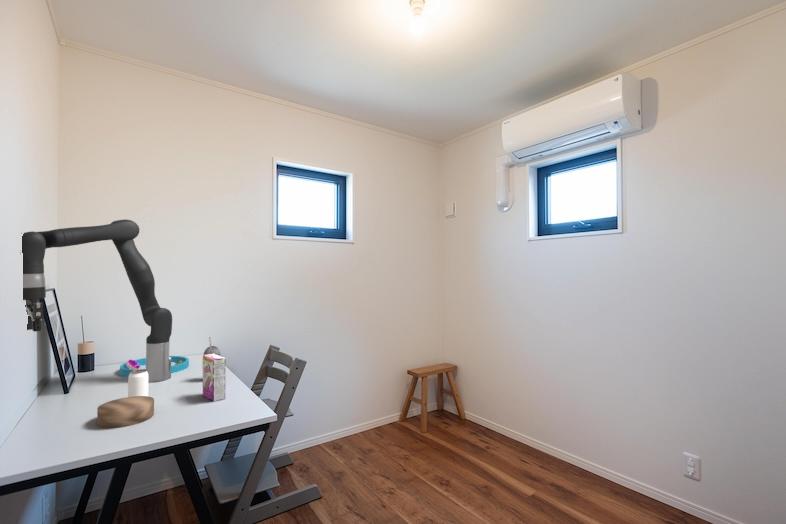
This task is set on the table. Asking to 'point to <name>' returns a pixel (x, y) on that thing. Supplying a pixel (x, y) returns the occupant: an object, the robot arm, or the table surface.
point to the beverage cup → (212, 350)
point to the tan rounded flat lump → (125, 411)
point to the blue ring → (135, 364)
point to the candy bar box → (214, 377)
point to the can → (138, 383)
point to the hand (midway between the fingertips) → (33, 330)
